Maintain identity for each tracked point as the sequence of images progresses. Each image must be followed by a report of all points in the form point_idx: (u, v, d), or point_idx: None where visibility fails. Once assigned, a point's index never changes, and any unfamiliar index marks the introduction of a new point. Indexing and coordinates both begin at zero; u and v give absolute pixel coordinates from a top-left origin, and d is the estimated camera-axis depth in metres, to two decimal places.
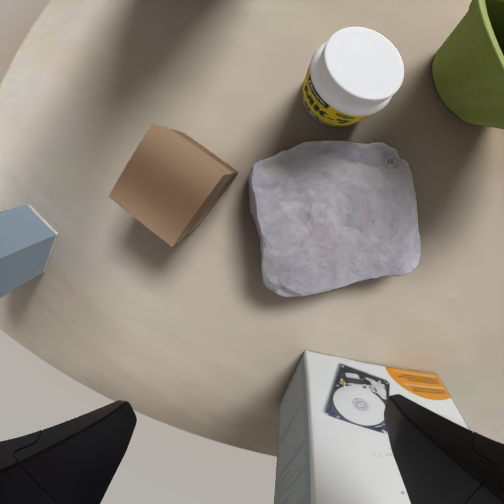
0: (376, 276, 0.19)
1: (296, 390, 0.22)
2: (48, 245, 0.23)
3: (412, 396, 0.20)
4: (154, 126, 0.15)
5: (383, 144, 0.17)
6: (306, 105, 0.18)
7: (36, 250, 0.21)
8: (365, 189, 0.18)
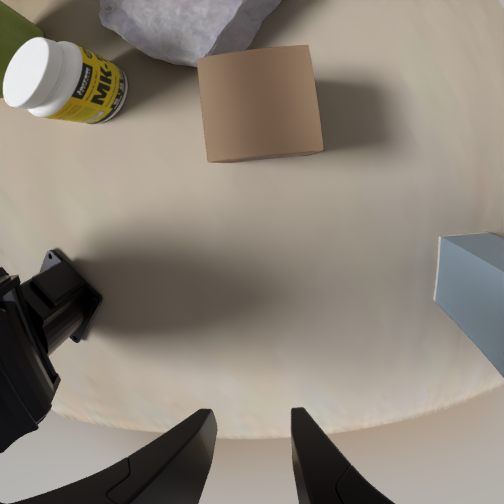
0: None
1: None
2: (457, 238, 0.17)
3: None
4: (209, 158, 0.13)
5: (102, 22, 0.13)
6: (119, 96, 0.16)
7: (470, 245, 0.15)
8: None
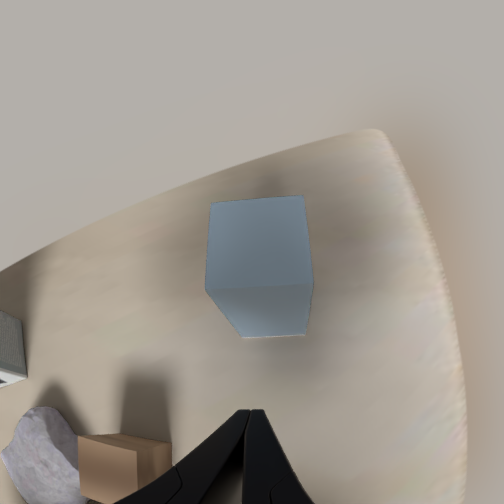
0: (9, 444, 0.17)
1: (7, 352, 0.22)
2: None
3: None
4: None
5: None
6: None
7: None
8: (39, 491, 0.15)
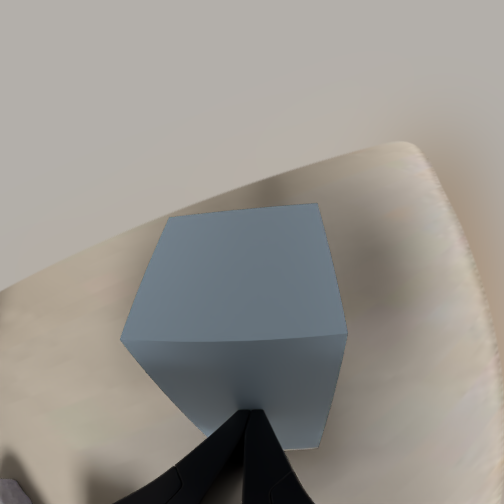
0: None
1: None
2: None
3: None
4: None
5: None
6: None
7: None
8: None
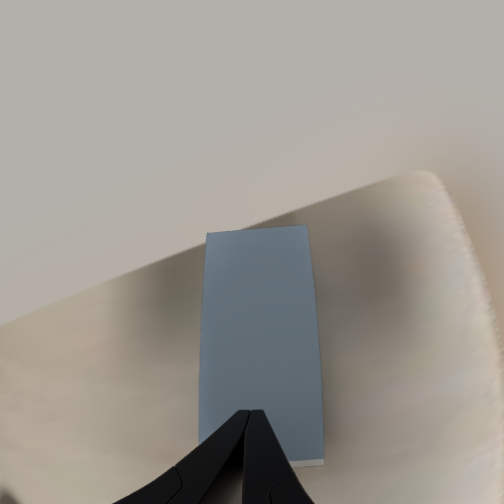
0: None
1: None
2: None
3: None
4: None
5: None
6: None
7: None
8: None
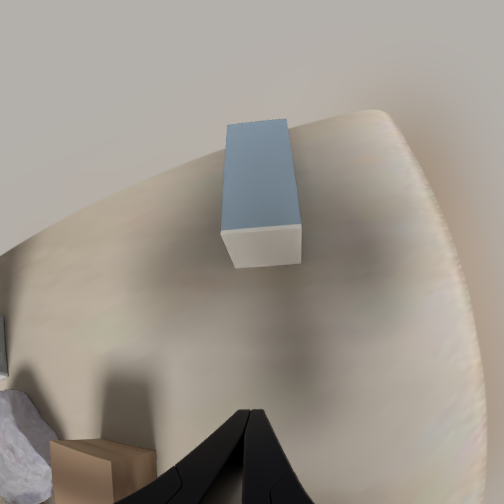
0: None
1: None
2: None
3: None
4: None
5: None
6: None
7: None
8: (8, 479, 0.13)
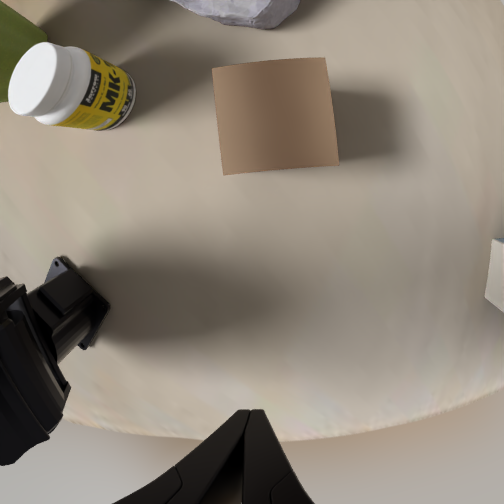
0: None
1: None
2: None
3: None
4: (224, 171, 0.13)
5: None
6: (127, 102, 0.16)
7: None
8: None
